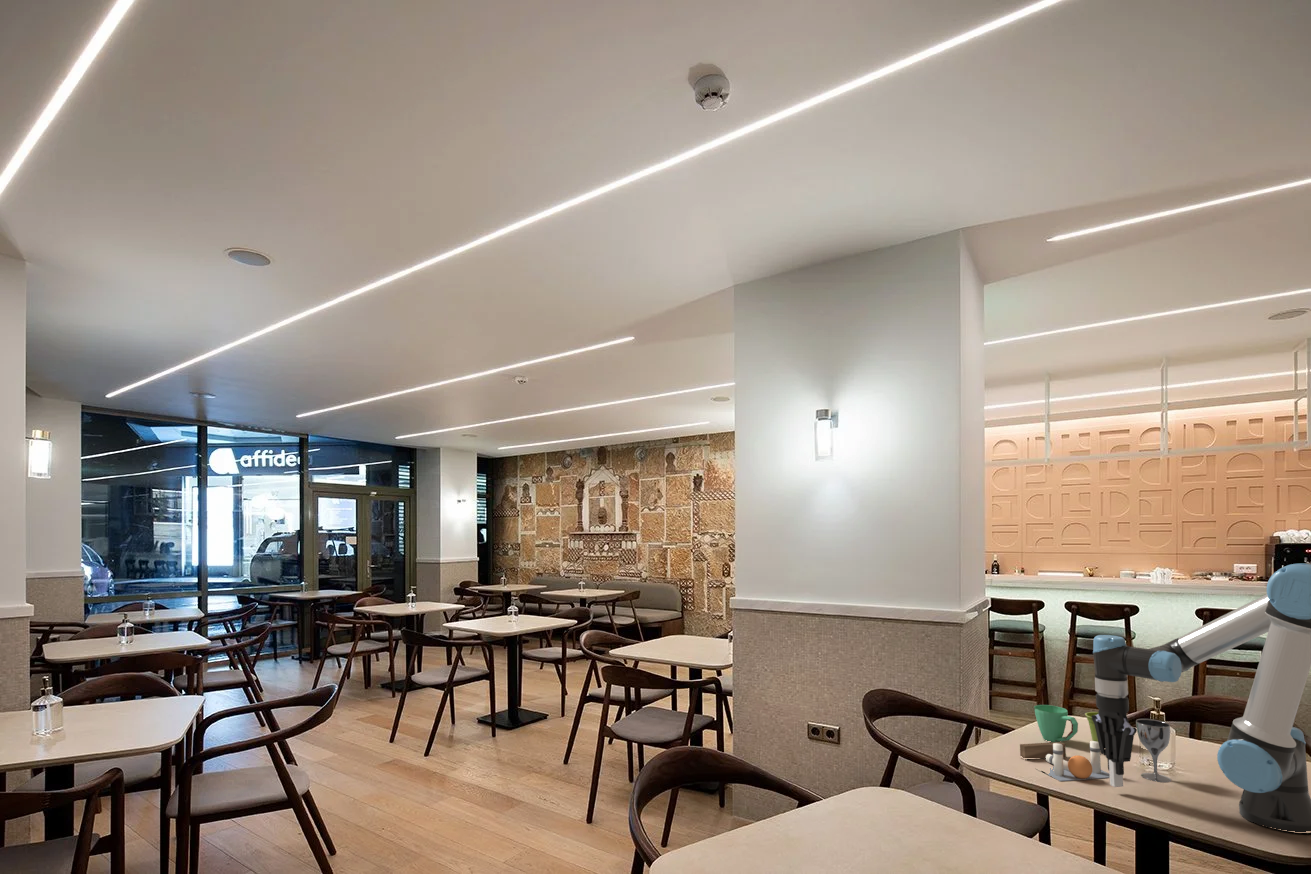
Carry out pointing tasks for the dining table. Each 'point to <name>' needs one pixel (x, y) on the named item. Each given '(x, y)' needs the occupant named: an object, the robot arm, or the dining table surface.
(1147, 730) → the wine glass
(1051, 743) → the back wall
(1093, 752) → the pin right
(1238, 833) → the dining table surface
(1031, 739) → the dining table surface
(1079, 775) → the brown egg
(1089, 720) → the plant pot
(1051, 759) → the pin middle
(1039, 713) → the mug
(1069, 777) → the pin deck
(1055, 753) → the pin left
